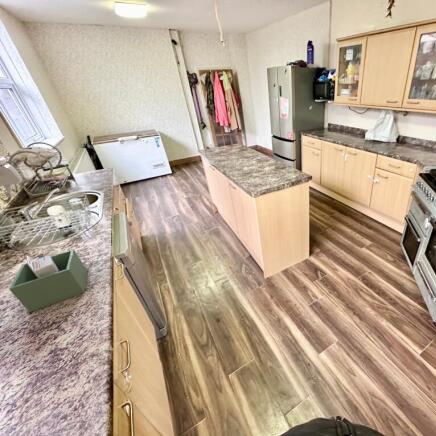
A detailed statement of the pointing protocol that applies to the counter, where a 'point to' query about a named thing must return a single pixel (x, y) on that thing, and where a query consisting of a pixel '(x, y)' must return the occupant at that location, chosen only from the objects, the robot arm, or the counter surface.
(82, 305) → the counter surface
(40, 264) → the ink box
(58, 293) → the waste bin
